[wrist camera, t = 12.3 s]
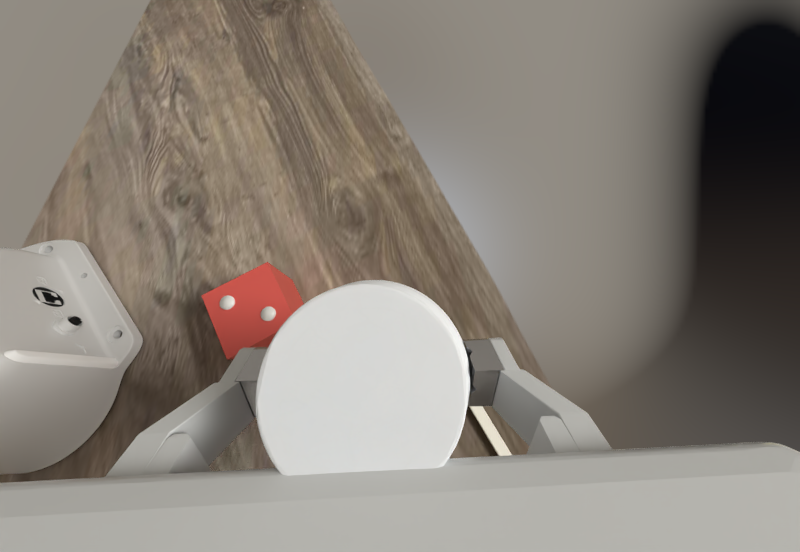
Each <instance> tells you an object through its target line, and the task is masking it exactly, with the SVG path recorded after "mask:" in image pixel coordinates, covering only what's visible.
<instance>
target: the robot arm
mask: <svg viewBox="0 0 800 552" xmlns="http://www.w3.org/2000/svg"><path fill="white" fill-rule="evenodd" d="M121 333H122V336H121V337H120V335H121ZM462 341H463V344H464V347H465V350H466V353H467V357H468V362H469V369H470V394H469V401H468V404H469V406H492V408H493V409H494V410H495V411H496V412H497V413H498V414H499V415H500V416H501V417H502V418H503V419H504V420H505V421H506V422H507V423H508V424H509V425H510V426H511V427H512V428H513V429H514V430H515V431H516V432H517V434H518V435H519V436H520V437H521V438H522V439H523V440H524V441H525V442H526V443H527V444H528V445H529V446H530V447H529V450H528V452H527V455H509V456H490V457H472V458H454V459H448V460H447V462H446V463H445V464H444V466H442V467H439V468H429V469H405V470H384V471H364V472H344V473H327V474H309V475H292V476H287V475H282V474H280V473H279V471H278V470H277V468H268V469H249V470H231V471H212V470H211V469H210V467H209V465H210V464H211V463H212V462H213V461H214V460H215V459H216V458H217V457H218V456H219V454H220V453H221V452H222V451H223V450H224V449H225V448H226V447H227V446H228V445H229V444H230V443H231V442H232V441H233V440H234V439H235V438H236V437H237V436H238V435H239V434H240V433H241V432H242V431H243V430H244V429H245V428H246V427H247V426H248V425H249V423H250V422H251V421H252V420H253V419H254V417H256V389H257V380H258V376H259V372H260V368H261V365H262V361H263V358H264V356H265V354H266V351H267V349H268V347H253V348H242V349H240V350H239V351H238V353H237V355H236V356H235V358H234V359H233V361H232V362H231V364H230V365H229V367H228V369H227V370H226V372H225V373H224V375H223V376H222V378H221V380H220V381H219V383H213V384H212V385H210V386H209V387H207V388H206V389H205V390H203V391H202V392H200V393H199V394H197V395H196V396H194V397H193V398H191V399H190V400H188V401H187V402H185V403H184V404H182V405H181V406H180V407H178V408H177V409H175V410H174V411H172V412H171V413H169V414H168V415H166V416H165V417H163V418H162V419H160V420H159V421H157V422H156V423H154V424H153V425H152V426H150V427H149V428H147V429H146V430H144V431H143V432H141V433H140V434H138V436H137V437H136V438H135V439H134V441H133V442H132V443H131V444H130V446H129V447H128V448H127V449H126V451H125V452H124V453H123V455H122V456H121V457H120V458H119V460H118V461H117V462H116V463H115V465H114V466H113V467H112V469H111V470H110V471H109V472H108V474H107V475H106V476H105V477H100V478H81V479H62V480H44V481H25V482H7V483H0V552H800V452H798V451H796V450H793V449H791V448H789V447H787V446H784V445H781V444H778V443H771V442H749V443H731V444H713V445H695V446H677V447H660V448H640V449H623V450H622V449H621V450H612V448H611V447H610V445H609V444H608V442H607V441H606V439H605V438H604V437H603V435H602V434H601V432H600V431H599V429H598V428H597V426H596V425H595V423H594V422H593V420H592V419H591V418H590V416H589V415H588V413H587V412H585V411H584V410H582V409H581V408H579V407H578V406H576V405H575V404H573V403H572V402H570V401H569V400H567V399H566V398H564V397H563V396H561V395H560V394H559V393H557V392H556V391H554V390H553V389H551V388H550V387H548V386H547V385H545V384H544V383H542V382H541V381H540V380H538V379H537V378H535V377H534V376H532V375H531V374H529V373H528V372H526V371H525V370H520V369H519V368H518V366H517V364H516V362H515V360H514V358H513V357H512V355H511V353H510V351H509V349H508V347H507V346H506V344H505V342H504V340H503V339H502V338H488V339H467V340H462ZM142 343H143V339H142V335H141V334H140V332H139V330H138V329H137V327H136V326H135V324H134V322H133V321H132V319H131V317H130V316H129V314H128V313H127V311H126V309H125V308H124V306H123V305H122V303H121V301H120V300H119V298H118V296H117V295H116V293H115V292H114V290H113V288H112V287H111V285H110V284H109V282H108V280H107V279H106V277H105V275H104V274H103V272H102V271H101V269H100V267H99V266H98V264H97V263H96V261H95V259H94V258H93V256H92V254H91V253H90V251H89V250H88V248H87V247H86V245H85V244H84V243H81V242H78V241H74V240H54V241H47V242H42V243H38V244H35V245H31V246H28V247H25V248H22V249H19V250H18V249H11V248H0V474H20V473H28V472H33V471H37V470H40V469H43V468H46V467H48V466H50V465H53V464H55V463H56V462H58V461H60V460H62V459H64V458H65V457H67V456H68V455H70V454H71V453H72V452H74V451H75V450H76V449H78V448H79V447H80V446H81V445H82V444H83V443H84V442H85V441H86V440H88V438H89V437H90V436H91V435H92V434H93V433H94V432H95V431H96V430H97V428H98V427H99V426H100V424H101V423H102V421H103V420H104V419H105V417H106V415H107V414H108V412H109V410H110V408H111V406H112V404H113V402H114V400H115V397H116V395H117V392H118V389H119V386H120V382H121V379H122V377H123V374H124V372H125V370H126V369H127V367H128V366H129V365H130V363H131V362H132V361H133V359H134V358H135V357H136V355H137V354H138V352H139V350H140V348H141V346H142Z"/></svg>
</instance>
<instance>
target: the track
mask: <svg viewBox="0 0 800 552" xmlns="http://www.w3.org/2000/svg"><path fill="white" fill-rule="evenodd" d="M468 406H469V404H468ZM469 408H470V409H471V411H472V413H473V414H474V416H475V418H476V419H477V421H478V423H479V424H480V426H481V428H482V429H483V431H484V433H485V434H486V436H487V438H488V439H489V441H490V443H491V445H492V446H493V448H494V450H495V451H496V453H497V455H498V456H509V455H512V454H511V453H510V451H509V450H508V448H507V446H506V445H505V443H504V441H503V440H502V438H501V436H500V435H499V433H498V431H497V430H496V428H495V426H494V425H493V423H492V422H491V420H490V418H489V417H488V415H487V413H486V412H485V410H484V408H483V407H482V406H469Z"/></svg>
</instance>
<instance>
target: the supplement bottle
mask: <svg viewBox="0 0 800 552" xmlns="http://www.w3.org/2000/svg"><path fill="white" fill-rule="evenodd" d="M469 394H470V369H469V362H468V357H467V353H466V350H465V347H464V344H463V341H462V339H461V337H460V335H459V333H458V331H457V329H456V327H455V326H454V324H453V323H452V321H451V320H450V318H449V317H448V316H447V314H446V313H445V312H444V311H443V310H442V309H441V308H440V307H439V306H438V305H437V304H436V303H435V302H433V301H432V300H431V299H430V298H428V297H427V296H425V295H424V294H422V293H421V292H419V291H417V290H415V289H413V288H411V287H408V286H406V285H403V284H400V283H395V282H391V281H384V280H365V281H358V282H353V283H349V284H346V285H343V286H340V287H337V288H334V289H331V290H329V291H326V292H324V293H322V294H320V295H318V296H316V297H314V298H313V299H311V300H309V301H308V302H306V303H305V304H303V305H302V306H301V307H299V308H298V309H297V310H296V311H295V312H294V313H293V314H292V315H291V316H290V317H289V318H288V319H287V320H286V321H285V322H284V323H283V325H282V326H281V327H280V328H279V330H278V331H277V333H276V334H275V336H274V338H273V339H272V341H271V343H270V345H269V347H268V349H267V351H266V354H265V356H264V358H263V361H262V365H261V368H260V372H259V376H258V380H257V389H256V418H257V423H258V428H259V432H260V436H261V439H262V442H263V445H264V447H265V449H266V451H267V454H268V456H269V457H270V459H271V461H272V462H273V464H274V466H275V467H276V468H277V470H278V471H279V473H280V474H282V475H287V476H292V475H309V474H327V473H344V472H364V471H384V470H405V469H429V468H439V467H442V466H444V464H445V463H446V462H447V460H448V459H449V457H450V456H451V454H452V452H453V450H454V449H455V447H456V445H457V443H458V440H459V438H460V435H461V432H462V428H463V425H464V421H465V416H466V410H467V406H468V401H469Z"/></svg>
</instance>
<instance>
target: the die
mask: <svg viewBox="0 0 800 552" xmlns="http://www.w3.org/2000/svg"><path fill="white" fill-rule="evenodd" d="M202 298H203V300H204V303H205V305H206V308H207V310H208V313H209V316H210V318H211V321H212V323H213V326H214V328H215V331H216V333H217V336H218V338H219V341H220V343H221V346H222V348H223V351H224V353H225V356H226V358H227V359H234V358H235V356H236V355H237V353H238V351H239V350H240V349H242V348H253V347H269V345H270V343H271V341H272V339H273V338H274V336H275V334H276V333H277V331H278V330H279V328H280V327H281V326H282V325H283V323H284V322H285V321H286V320H287V319H288V318H289V317H290V316H291V315H292V314H293V313H294V312H295V311H296V310H297V309H298V308H299V307H301V306H302V305H303V304H304V303H303V301H302V299H301V297H300V295H299V293H298V291H297V289H296V287H295V285H294V283H293V281H292V280H291V279H290V278H289V277H287V276H286V275H285V274H283V273H282V272H280V271H279V270H278V269H276V268H275V267H274V266H272V265H271V264H270V263H268V262H267V263H265V264H263V265H261V266H259V267H257V268H255V269H253V270H251V271H249V272H247V273H245V274H243V275H241V276H239V277H237V278H235V279H233V280H231V281H229V282H227V283H225V284H223V285H221V286H219V287H217V288H215V289H214V290H212V291H210V292H208V293H206V294H204V295H202Z"/></svg>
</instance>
